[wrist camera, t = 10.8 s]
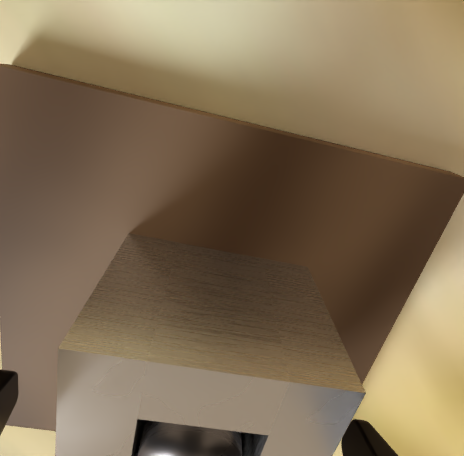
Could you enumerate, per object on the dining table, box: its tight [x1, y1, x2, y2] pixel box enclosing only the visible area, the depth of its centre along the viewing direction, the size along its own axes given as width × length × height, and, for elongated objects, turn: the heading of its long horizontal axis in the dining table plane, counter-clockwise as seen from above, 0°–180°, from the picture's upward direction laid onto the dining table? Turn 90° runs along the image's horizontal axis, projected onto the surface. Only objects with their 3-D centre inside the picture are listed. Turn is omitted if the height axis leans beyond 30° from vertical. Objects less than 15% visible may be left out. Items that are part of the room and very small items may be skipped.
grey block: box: [55, 233, 366, 456], centre depth 10 cm, size 6×6×5 cm
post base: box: [0, 64, 464, 456], centre depth 10 cm, size 14×14×6 cm
